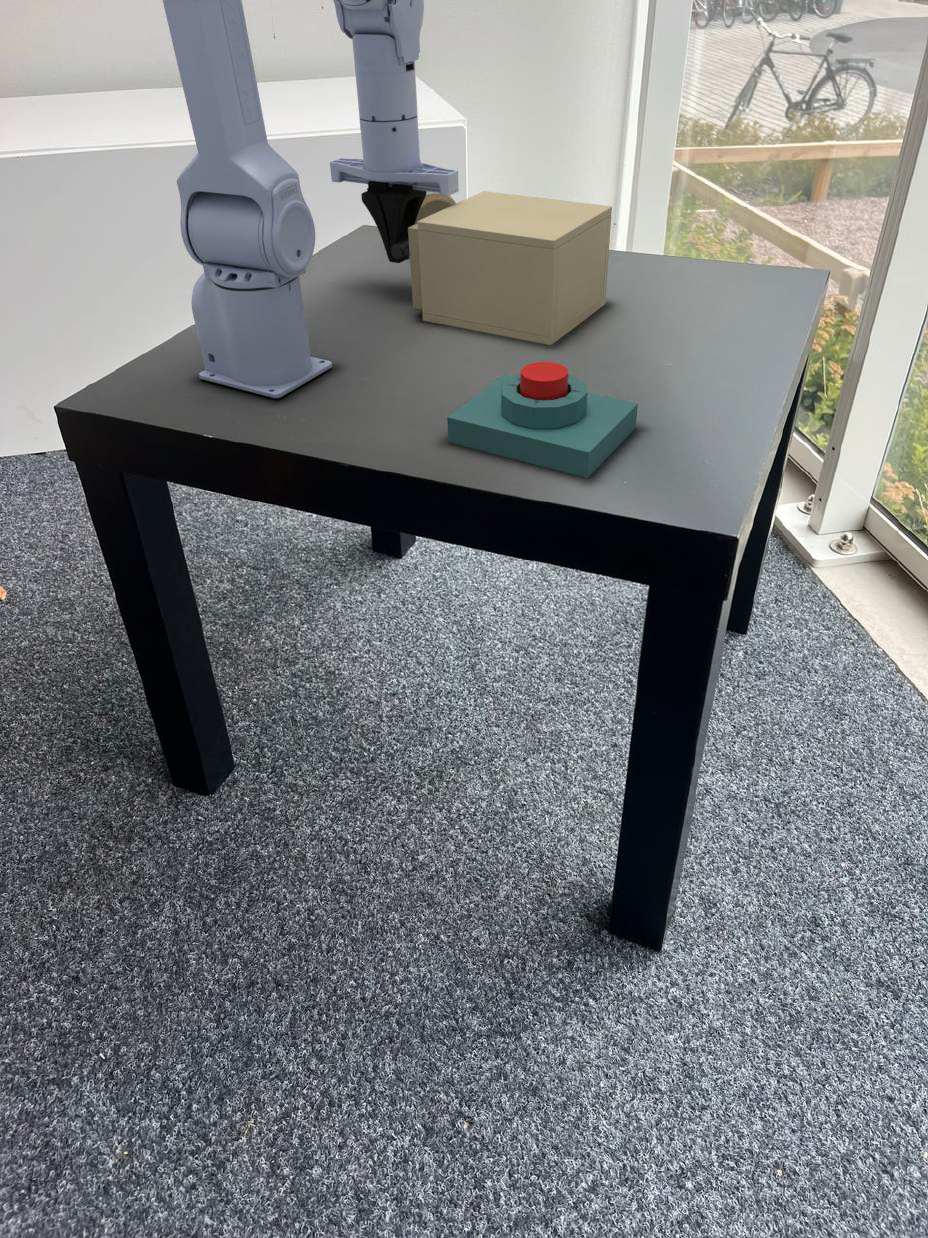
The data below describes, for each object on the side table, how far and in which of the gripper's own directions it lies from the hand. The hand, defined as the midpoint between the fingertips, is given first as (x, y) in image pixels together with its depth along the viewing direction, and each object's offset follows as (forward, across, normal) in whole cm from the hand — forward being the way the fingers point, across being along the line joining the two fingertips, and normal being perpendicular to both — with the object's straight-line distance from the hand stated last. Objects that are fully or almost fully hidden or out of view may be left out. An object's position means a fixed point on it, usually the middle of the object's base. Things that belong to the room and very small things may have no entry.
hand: (398, 259), depth 95 cm
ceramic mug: (+4, +6, -16) cm, 17 cm away
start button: (0, -29, +23) cm, 37 cm away
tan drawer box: (+3, -14, 0) cm, 15 cm away
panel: (+3, -29, +23) cm, 37 cm away
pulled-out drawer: (+3, -10, 0) cm, 10 cm away
